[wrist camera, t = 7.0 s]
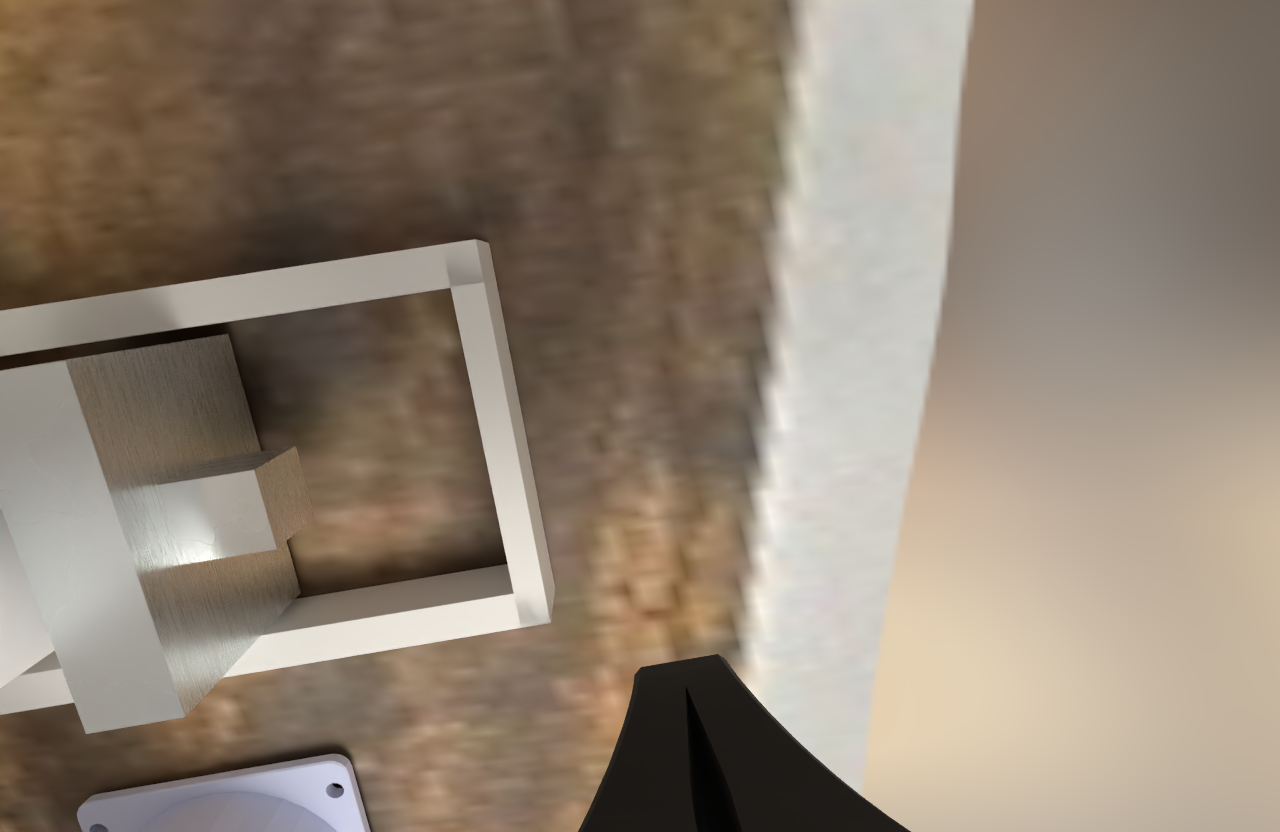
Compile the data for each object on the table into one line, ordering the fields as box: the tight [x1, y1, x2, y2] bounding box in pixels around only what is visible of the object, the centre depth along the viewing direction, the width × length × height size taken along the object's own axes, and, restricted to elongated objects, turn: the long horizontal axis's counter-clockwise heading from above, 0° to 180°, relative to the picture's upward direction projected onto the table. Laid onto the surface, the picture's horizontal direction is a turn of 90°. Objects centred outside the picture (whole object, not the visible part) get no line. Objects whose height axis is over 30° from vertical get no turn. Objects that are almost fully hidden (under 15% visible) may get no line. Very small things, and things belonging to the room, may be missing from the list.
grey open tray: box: [0, 239, 555, 715], centre depth 16 cm, size 19×10×6 cm, turn 98°
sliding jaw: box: [0, 334, 315, 734], centre depth 16 cm, size 4×7×6 cm, turn 8°
